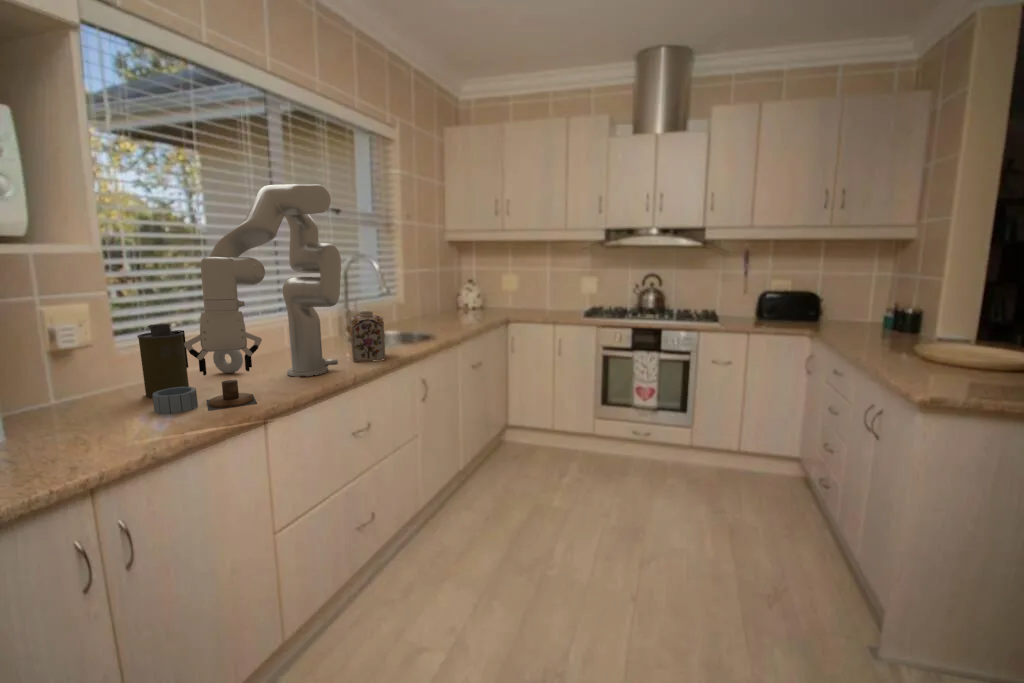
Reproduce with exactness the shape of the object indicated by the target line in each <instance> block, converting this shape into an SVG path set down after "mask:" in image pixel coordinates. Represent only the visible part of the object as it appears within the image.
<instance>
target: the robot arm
mask: <svg viewBox="0 0 1024 683" xmlns="http://www.w3.org/2000/svg"><path fill="white" fill-rule="evenodd" d="M331 200H332V199H331V195H330V192H329V190H328V189H327V188H326V187H325V186H323V185H321V184H294V183H293V184H270V185H269V184H267V185H265V186H263V187H261V188H260V189H259V191H257V194H256V197H255V199H254V200H253V202H252V205H251V207H250V209H249V211H248V213H247V215H246V216H245V218H244V221H243V222H242V223H241V224H239V225H237V226H236V227H235V228H233V229H232V230H230V231H229V232H228V233H227V234H225V235H224V236H222V238H220V239H219V240H218V241H217V242H216V244H215V245H214V247H212V248H213V249H212V251H210V252H211V253H210V255H209V256H206V257H203V258H201V261H200V274H201V276H200V277H201V286H202V295H203V296H202V298H203V309H204V310H203V311H202V312H200V317H199V335H196V336H194V337H192V338H191V339H189V340H186V341H185V343H184V346H185V347H186V351H188V353H189V354H190V355H191V356H193V357H194V358H195V359H196V360H198V366H199V368H198V369H199V373H202V375H203V376H207V364H206V358H205V357H206V355H207V354H208V353H209V352H210V353H214V352H216V351H230V350H240V351H242V352H244V353H245V354H244V357H243V358H244V369H245V371H246V372H250V368H253V364H252V363H253V362H252V356H253V355H254V353H255V352H256V351H257V350H258V349H259V346H260V345H261V343H262V341H263V340H262V338H261V337H260V336H257V335H255V334H252V333H249V332H247V331H246V329H247V328H246V324H245V318H244V314H243V311H242V310H239V309H240V308H241V307H245V305H246V304H245V301H244V300H242V301H241V300H239V298H238V286H245V287H246V286H255V285H257V284H260V283H261V282H262V281H263V280H264V278H265V275H266V270H265V266H264V265H263V263H262V262H261V261H259V259H256V258H255V257H250V256H247V257H246V256H241V255H243V254H244V253H245V252H248V251H250V250H251V249H252V250H253V249H255V248H257V247H261V246H263V245H265V244H267V243H270V242H271V241H272V240H274V239H275V238H276V235H277V233H278V230H280V229H279V228H280V227H281V224H282V222H283V219H284V218H285V220H286V222H287V224H288V225H289V257H288V258H289V266H290V268H291V269H292V271H294V272H296V273H303V274H304V273H305V274H319V275H320V276H317V277H316V276H296V277H291V278H289V279H287V280H286V281H285V282H284V283H283V285H282V296H283V300H284V303H285V307H286V311H287V318H288V332H289V333H288V334H289V341H290V342H289V344H290V345H289V346H290V347H289V348H290V357H291V359H290V360H291V368H289V369H287V370H286V372H287V375H288V376H290V377H295V376H296V377H299V378H300V376H306V377H314V376H313V375H315V376H319V374H320V375H323V373H324V374H326V373H328V372H329V366H336V365H337V366H338V364H339V362H338V358H334V359H333V358H324V357H323V348H322V347H323V344H322V332H321V320H320V316H319V314H318V312H317V310H316V309H315V308H331V307H334V306H335V305H336V304H338V302H339V299H340V294H341V275H342V273H341V272H342V260H341V259H342V257H341V253H340V252H339V249H338V248H337V247H336V246H335V245H333V244H332V243H327V242H325V243H324V242H319V228H318V225H317V223H316V221H315V220H314V219H313V217H312V216H311V215H315V214H322V213H326V212H327V211H328V210H329V208H330V206H331ZM248 339H249V340H252V341H254V343H253V345H252V346H250V348H248V342H247V341H248ZM199 342H200V347H201V350H200V351H198V350H196V349H195V348H194V347H193V345H195V344H197V343H199ZM327 371H328V372H327Z"/></svg>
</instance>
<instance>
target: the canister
mask: <svg viewBox="0 0 1024 683" xmlns="http://www.w3.org/2000/svg"><path fill="white" fill-rule="evenodd" d="M147 328H148V329H150V332H145V333H140V334H137V339H138V343H139V344H138V345H139V352H140V360H141V368H142V375H143V376H142V377H143V383H144V390H145V397H146V398H147V399H153V396H152V395H153V393H154V392H157V391H159V390H163V389H168V388H175V387H190V384H189V376H188V369H189V361H188V353H187V351H188V350H187V349H186V347H185V346H184V343H185V342H186V335H185V334H186V332H185V330H181V329H176V330H172V328H171V327H170V324H169V323H156V324H149V325H147Z"/></svg>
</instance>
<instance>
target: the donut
mask: <svg viewBox="0 0 1024 683" xmlns="http://www.w3.org/2000/svg"><path fill="white" fill-rule="evenodd" d="M226 355H228V356H229V357H230V359H231V360H230V363H229V362H228V361H226ZM212 360H213V364H214V365H215V368H217V369H218V371H220V372H222V373H224V374H228V373H229V374H234V373H237V372H238V371H240V370H241V368H242V367H243V364H244V357H243V354H242V352H241V350H230V351H216V352H213V356H212Z"/></svg>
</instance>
